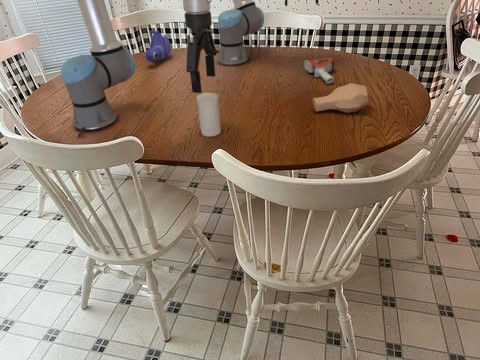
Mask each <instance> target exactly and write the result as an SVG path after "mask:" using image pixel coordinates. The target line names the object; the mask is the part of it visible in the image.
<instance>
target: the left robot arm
mask: <svg viewBox="0 0 480 360" xmlns="http://www.w3.org/2000/svg"><path fill="white" fill-rule="evenodd" d="M76 1H77V4H78V7H79V10H80V13H81V16H82V19H83V21H84V25H85V27H86V30H87V33H88V36H89V39H90V42H91V44H92V45H91V46H90V49H89V52H90V54H80V55H78V56H77V55H76V56H73V57H70V58H68V59H67V60H65V61H64V62H63V63H62V64H61V67H60V72H61V77H62V81H63V82H64V84H65V87H66V90H67V93H68V96H69V99H70V101H71V104H72V108H73V114H72V117H73V118H72V119H73V125H74V128H75V129H76V131H78V134H77V137H78V138H81V136H82V133H92V132H99V131H102V130H105V129H107V128H110V127H111V126H113V125H115V124H116V122H117V121H118V116H117V113H116V111H115V110H114V108H113V107H112V105H111V103H110V102H109V101H108V99H107V96H106V92H105V90H108V89H110V88H112V87H114V86H117V85H119V84H122V83H124V82H126V81H127V80H129V79H131V78H132V77H133V76H134V74H135V70H136V63H135V59H134V56H133V54H132V53H131V52H130V50H129V49H128V48H126V47H125V46H124V45H123V43H122V42H121V41H119V40H118V39H117V37H116V33H115V30H114V27H113V23H112V20H111V17H110V13H109V10H108V8H107V4H106V1H105V0H76ZM211 3H212V0H182V8H183V11H184V12H185V13H184V22H185V27H186V28H187V29H190V30H191V34H188V35H186V40H187V45H186V67H185V68H186V69H185V71H186V73H189V75H190V83H191V84H190V85H191V90H192V91H191V93H194V94H202V82H201V81H202V80H201V72H200V70H199V67H200V61H201V54H202V53H201V52H202V51H204V53H205V56H204V60H205V61H204V62H205V71H206V77H213V78H214V77H216V67H215V56H217V52H215V51H216V50H217V49H216V44H215V40H214V36H213V34H212V24H213V23H212V12H211V11H210V10H211ZM212 47H213V48H212Z"/></svg>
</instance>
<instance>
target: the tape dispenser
mask: <svg viewBox="0 0 480 360" xmlns="http://www.w3.org/2000/svg"><path fill="white" fill-rule="evenodd" d="M320 61H323V62H320ZM334 65H335V59H333V57H332V56H328V57H321V58H315V59H309V60H308V59H305V60H304V70H305V71H307V73H310V74H312V73H314V78H322V79H323V81H325V84H327V85H329V84H332V83H333V82H334V81H335V77H334V76H332V75H331V74H329V73H330V72H331V73H332V72H333V70H334Z"/></svg>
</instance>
